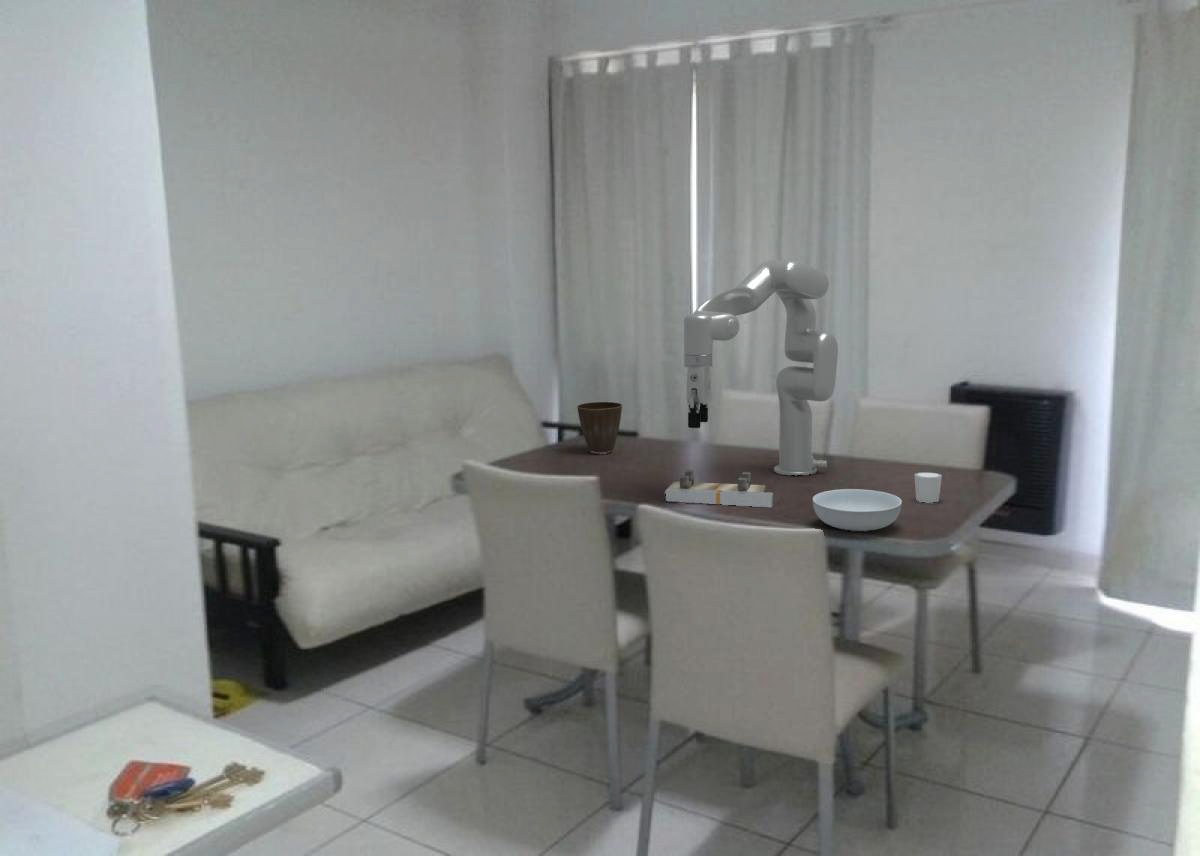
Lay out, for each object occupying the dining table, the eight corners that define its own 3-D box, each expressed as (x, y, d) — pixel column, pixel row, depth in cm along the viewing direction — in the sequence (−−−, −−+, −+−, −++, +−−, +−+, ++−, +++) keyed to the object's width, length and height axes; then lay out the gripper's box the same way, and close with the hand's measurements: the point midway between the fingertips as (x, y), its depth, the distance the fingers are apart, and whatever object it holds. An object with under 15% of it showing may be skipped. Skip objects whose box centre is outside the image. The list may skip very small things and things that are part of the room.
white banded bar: (773, 504, 270) (773, 492, 270) (771, 507, 267) (771, 495, 267) (668, 499, 278) (668, 487, 278) (665, 502, 275) (665, 490, 274)
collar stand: (765, 489, 287) (765, 471, 286) (759, 499, 276) (759, 481, 275) (673, 485, 294) (673, 468, 293) (664, 495, 283) (664, 477, 282)
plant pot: (601, 458, 334) (600, 410, 331) (569, 453, 344) (567, 406, 341) (632, 451, 344) (631, 404, 342) (600, 446, 354) (598, 400, 352)
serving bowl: (795, 528, 248) (795, 500, 247) (842, 511, 262) (843, 484, 261) (871, 544, 233) (872, 514, 232) (917, 525, 247) (918, 497, 246)
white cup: (919, 496, 275) (920, 470, 274) (945, 499, 271) (946, 473, 270) (909, 501, 270) (910, 475, 269) (935, 505, 266) (935, 478, 264)
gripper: (705, 364, 263) (705, 430, 266) (718, 358, 280) (718, 420, 282) (676, 364, 265) (677, 429, 268) (691, 357, 282) (691, 419, 285)
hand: (698, 424), depth 275 cm, fingers open, 9 cm apart
